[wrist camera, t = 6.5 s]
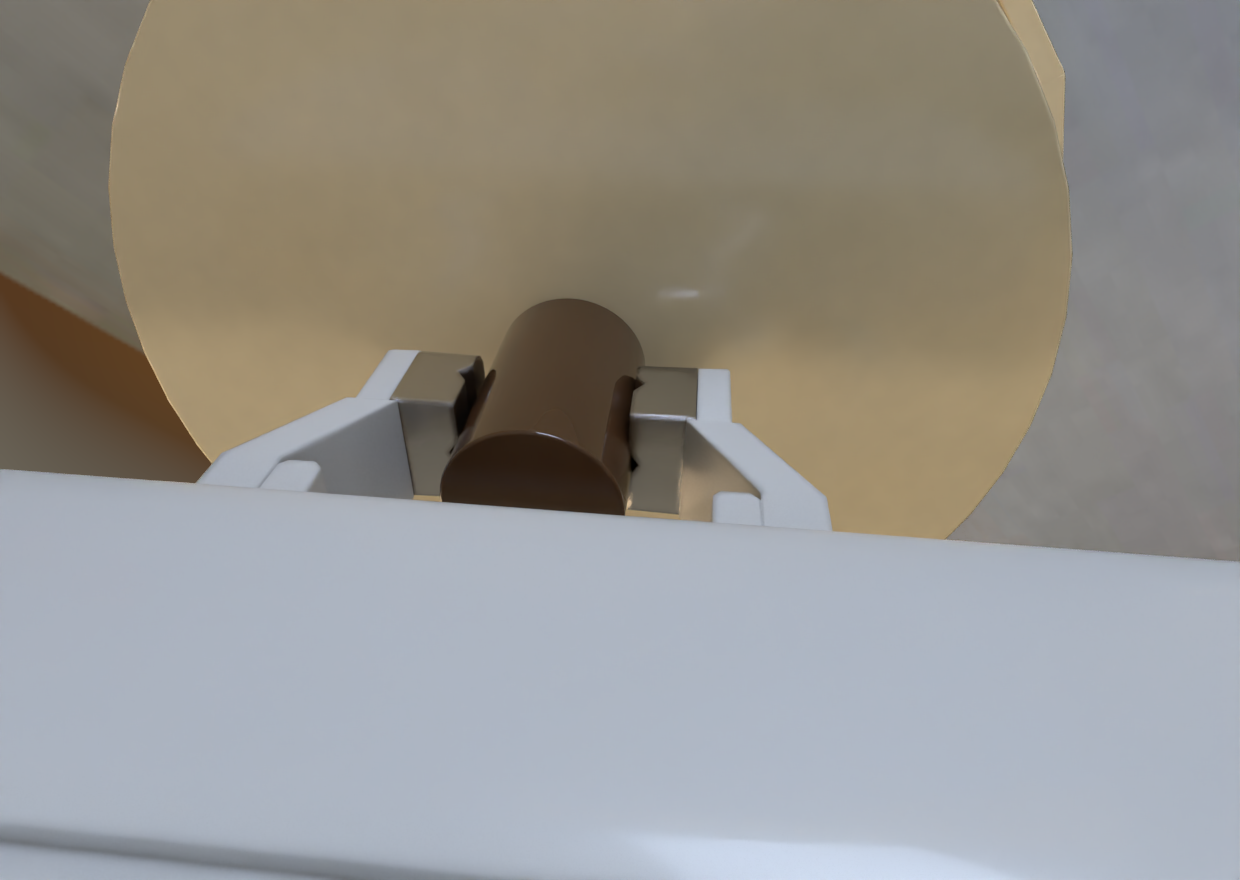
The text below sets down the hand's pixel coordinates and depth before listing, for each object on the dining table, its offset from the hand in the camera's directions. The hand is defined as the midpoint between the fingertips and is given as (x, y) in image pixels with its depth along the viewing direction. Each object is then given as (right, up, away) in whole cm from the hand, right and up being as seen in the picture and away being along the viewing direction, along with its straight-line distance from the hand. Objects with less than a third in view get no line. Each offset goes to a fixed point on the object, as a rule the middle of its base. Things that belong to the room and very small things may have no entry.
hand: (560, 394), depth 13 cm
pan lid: (0, +1, +1) cm, 2 cm away
